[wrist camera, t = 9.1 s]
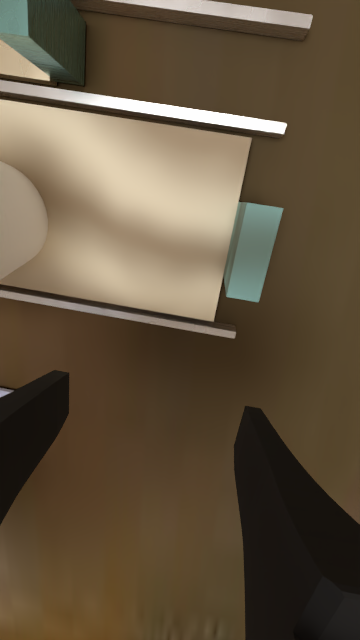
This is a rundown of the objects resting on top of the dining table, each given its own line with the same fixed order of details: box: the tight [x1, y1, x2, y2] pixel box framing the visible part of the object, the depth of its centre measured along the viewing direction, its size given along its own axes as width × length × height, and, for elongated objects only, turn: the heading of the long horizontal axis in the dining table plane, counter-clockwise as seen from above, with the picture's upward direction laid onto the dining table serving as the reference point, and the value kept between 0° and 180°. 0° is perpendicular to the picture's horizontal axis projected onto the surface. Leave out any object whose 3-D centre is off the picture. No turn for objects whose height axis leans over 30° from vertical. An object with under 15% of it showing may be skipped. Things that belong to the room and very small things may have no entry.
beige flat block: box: [0, 99, 283, 322], centre depth 17 cm, size 11×23×6 cm, turn 81°
